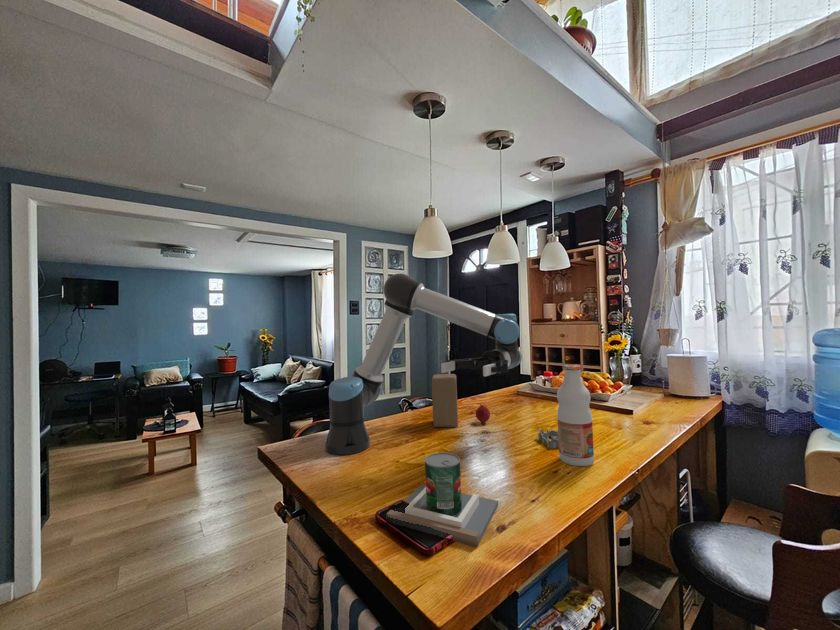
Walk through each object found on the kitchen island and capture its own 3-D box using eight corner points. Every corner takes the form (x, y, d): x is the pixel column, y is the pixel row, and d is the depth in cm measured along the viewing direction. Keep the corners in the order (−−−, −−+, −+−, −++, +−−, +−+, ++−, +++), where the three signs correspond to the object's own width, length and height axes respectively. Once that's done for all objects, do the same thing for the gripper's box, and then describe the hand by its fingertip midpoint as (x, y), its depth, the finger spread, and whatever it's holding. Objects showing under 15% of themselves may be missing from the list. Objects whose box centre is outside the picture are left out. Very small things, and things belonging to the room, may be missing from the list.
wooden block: (458, 420, 146) (456, 373, 146) (458, 427, 136) (456, 377, 137) (434, 420, 147) (432, 373, 147) (433, 427, 137) (431, 377, 138)
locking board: (386, 522, 73) (386, 508, 73) (420, 488, 88) (420, 477, 88) (477, 547, 64) (476, 531, 64) (498, 505, 79) (497, 492, 79)
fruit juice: (555, 453, 107) (551, 363, 107) (588, 454, 105) (583, 363, 106) (563, 466, 97) (559, 368, 98) (599, 467, 96) (594, 367, 96)
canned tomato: (420, 505, 78) (418, 457, 78) (449, 496, 81) (447, 449, 82) (438, 523, 71) (435, 469, 71) (469, 512, 74) (467, 461, 75)
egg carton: (536, 438, 121) (535, 427, 121) (557, 437, 121) (556, 426, 122) (548, 449, 111) (547, 437, 111) (571, 448, 111) (570, 435, 111)
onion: (490, 421, 143) (490, 402, 143) (489, 425, 137) (489, 405, 137) (476, 420, 144) (476, 401, 144) (475, 425, 139) (474, 405, 139)
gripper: (532, 375, 106) (504, 387, 89) (462, 370, 121) (427, 379, 104) (532, 351, 106) (503, 358, 89) (461, 348, 121) (426, 354, 104)
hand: (462, 369), depth 96 cm, fingers open, 13 cm apart
